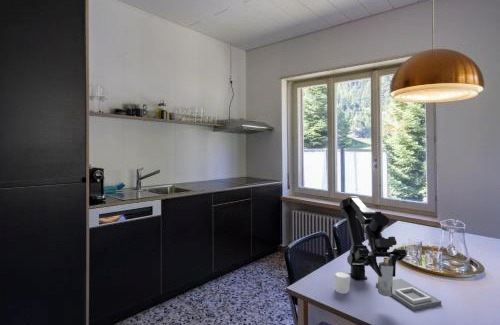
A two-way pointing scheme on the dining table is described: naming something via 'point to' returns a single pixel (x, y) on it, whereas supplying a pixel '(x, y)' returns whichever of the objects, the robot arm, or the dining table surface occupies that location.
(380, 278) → the gold-capped silver bottle
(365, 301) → the dining table surface
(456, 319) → the dining table surface
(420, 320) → the dining table surface
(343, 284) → the shot glass
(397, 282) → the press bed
